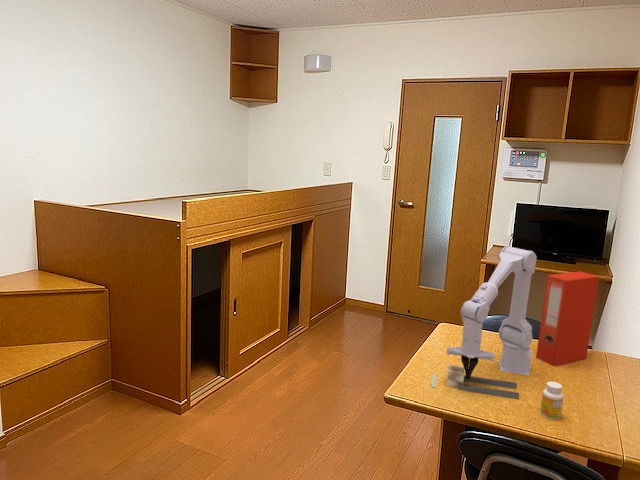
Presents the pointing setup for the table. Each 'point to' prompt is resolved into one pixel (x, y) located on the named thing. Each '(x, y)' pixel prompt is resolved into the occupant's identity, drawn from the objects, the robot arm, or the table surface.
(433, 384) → the pad
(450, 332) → the table surface
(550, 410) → the supplement bottle
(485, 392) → the parallel grey rails
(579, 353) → the file binder
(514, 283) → the robot arm
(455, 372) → the block
